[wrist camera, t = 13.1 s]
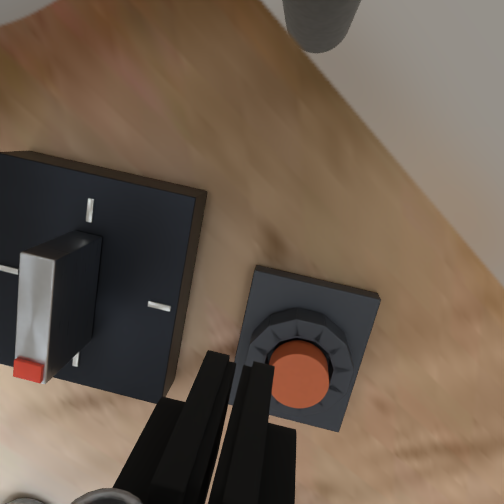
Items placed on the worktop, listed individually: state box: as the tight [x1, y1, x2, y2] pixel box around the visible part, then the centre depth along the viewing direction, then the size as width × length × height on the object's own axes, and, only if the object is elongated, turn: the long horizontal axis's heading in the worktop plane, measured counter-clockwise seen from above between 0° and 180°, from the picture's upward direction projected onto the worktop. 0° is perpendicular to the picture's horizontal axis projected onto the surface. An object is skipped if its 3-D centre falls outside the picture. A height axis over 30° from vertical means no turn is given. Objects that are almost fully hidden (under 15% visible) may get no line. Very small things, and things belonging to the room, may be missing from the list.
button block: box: [228, 265, 381, 432], centre depth 27 cm, size 10×8×3 cm
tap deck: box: [0, 151, 207, 404], centre depth 27 cm, size 14×12×3 cm
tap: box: [13, 230, 102, 384], centre depth 23 cm, size 7×2×5 cm, turn 168°
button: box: [269, 340, 329, 408], centre depth 25 cm, size 4×4×2 cm
